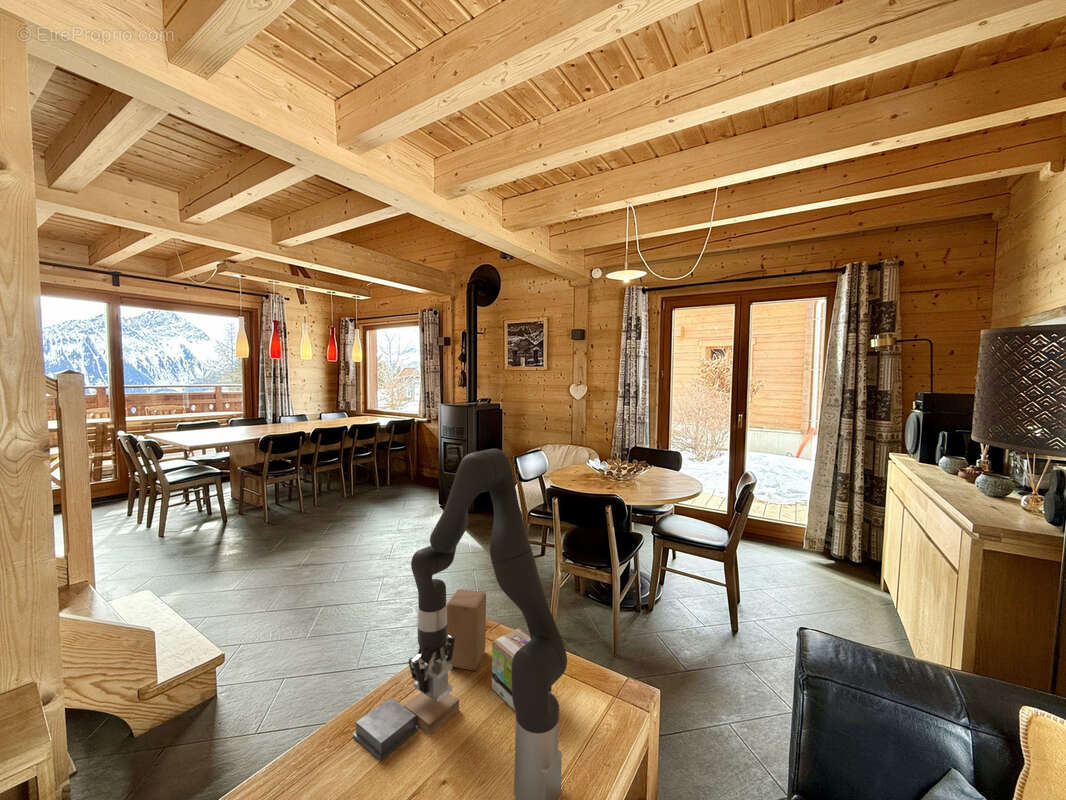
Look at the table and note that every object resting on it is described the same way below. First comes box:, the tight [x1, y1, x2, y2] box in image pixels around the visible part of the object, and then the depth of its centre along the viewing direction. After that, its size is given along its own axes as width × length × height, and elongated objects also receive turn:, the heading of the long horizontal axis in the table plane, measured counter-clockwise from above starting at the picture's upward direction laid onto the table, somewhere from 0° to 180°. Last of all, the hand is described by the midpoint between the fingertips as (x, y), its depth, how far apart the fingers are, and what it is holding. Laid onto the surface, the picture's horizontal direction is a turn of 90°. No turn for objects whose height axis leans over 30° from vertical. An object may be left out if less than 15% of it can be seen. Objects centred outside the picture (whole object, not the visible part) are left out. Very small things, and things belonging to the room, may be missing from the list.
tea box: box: [491, 627, 553, 711], centre depth 119 cm, size 15×10×15 cm, turn 42°
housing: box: [413, 659, 453, 702], centre depth 112 cm, size 9×5×7 cm, turn 55°
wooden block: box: [446, 588, 487, 671], centre depth 134 cm, size 10×10×20 cm
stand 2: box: [403, 691, 460, 737], centre depth 113 cm, size 10×10×3 cm
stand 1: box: [352, 696, 420, 763], centre depth 106 cm, size 11×11×4 cm
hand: (432, 685), depth 112 cm, fingers closed on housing, 5 cm apart
